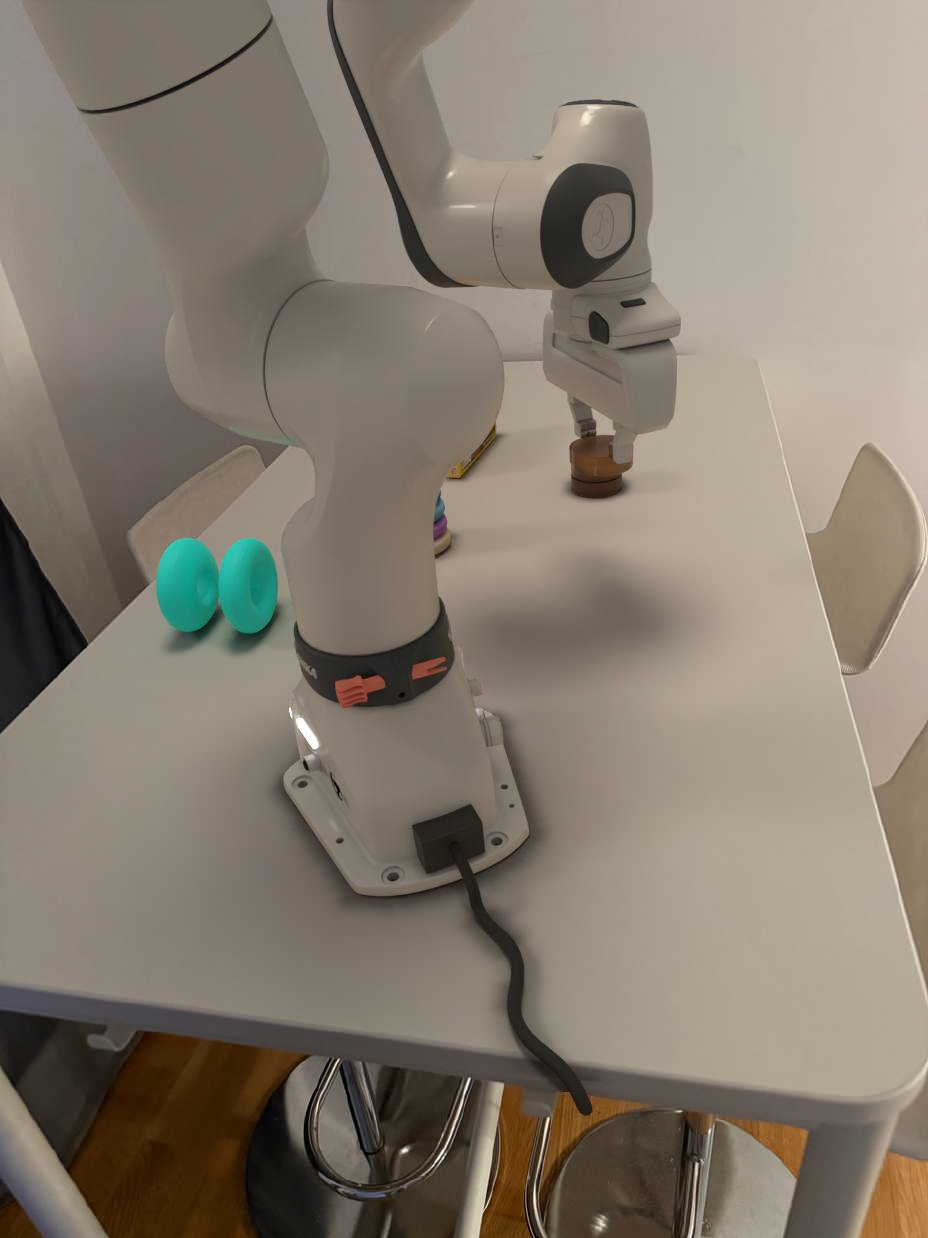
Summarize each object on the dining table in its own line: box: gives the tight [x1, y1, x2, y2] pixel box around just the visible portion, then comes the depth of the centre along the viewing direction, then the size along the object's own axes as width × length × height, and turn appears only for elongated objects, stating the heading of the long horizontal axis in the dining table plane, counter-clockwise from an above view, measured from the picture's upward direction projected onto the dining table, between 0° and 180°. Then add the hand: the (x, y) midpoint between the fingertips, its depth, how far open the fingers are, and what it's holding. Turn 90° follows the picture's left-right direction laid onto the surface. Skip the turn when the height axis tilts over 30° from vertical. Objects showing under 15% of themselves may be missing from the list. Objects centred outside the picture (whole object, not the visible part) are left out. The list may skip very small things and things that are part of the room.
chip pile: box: [568, 438, 623, 499], centre depth 119 cm, size 7×7×6 cm
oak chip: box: [572, 434, 634, 477], centre depth 90 cm, size 6×6×2 cm
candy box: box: [448, 421, 497, 479], centre depth 132 cm, size 16×2×8 cm, turn 160°
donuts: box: [155, 537, 279, 634], centre depth 97 cm, size 10×10×10 cm
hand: (602, 448), depth 90 cm, fingers closed on oak chip, 6 cm apart
